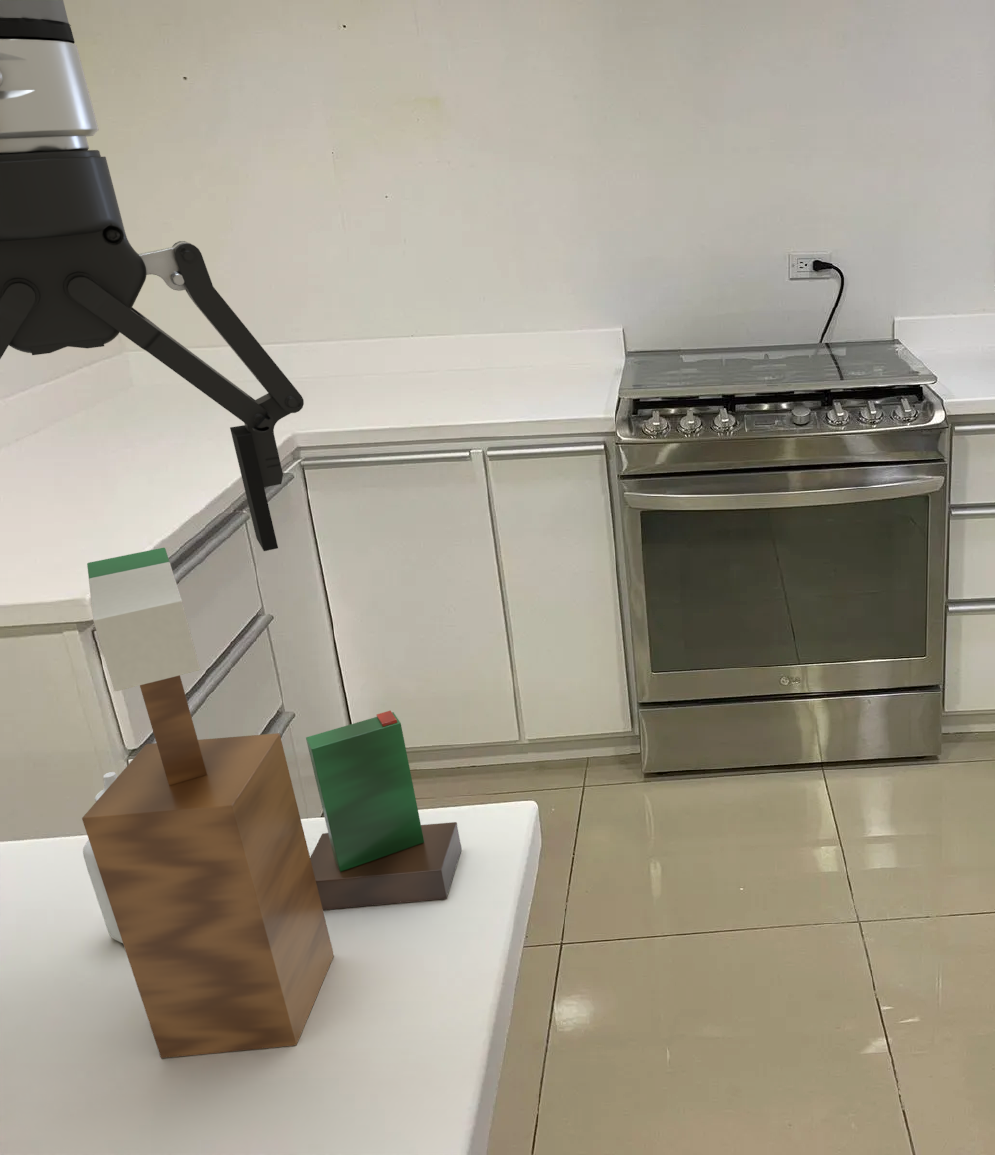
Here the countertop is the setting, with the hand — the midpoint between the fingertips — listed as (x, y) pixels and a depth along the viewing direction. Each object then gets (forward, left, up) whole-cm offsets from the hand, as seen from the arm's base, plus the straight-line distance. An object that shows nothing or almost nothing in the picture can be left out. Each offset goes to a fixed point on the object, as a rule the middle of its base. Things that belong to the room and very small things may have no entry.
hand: (132, 572), depth 60 cm
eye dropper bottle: (-10, +10, -30) cm, 33 cm away
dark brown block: (+5, +12, -30) cm, 32 cm away
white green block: (0, 0, -5) cm, 5 cm away
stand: (0, 0, -30) cm, 30 cm away
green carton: (+5, +12, -27) cm, 30 cm away
